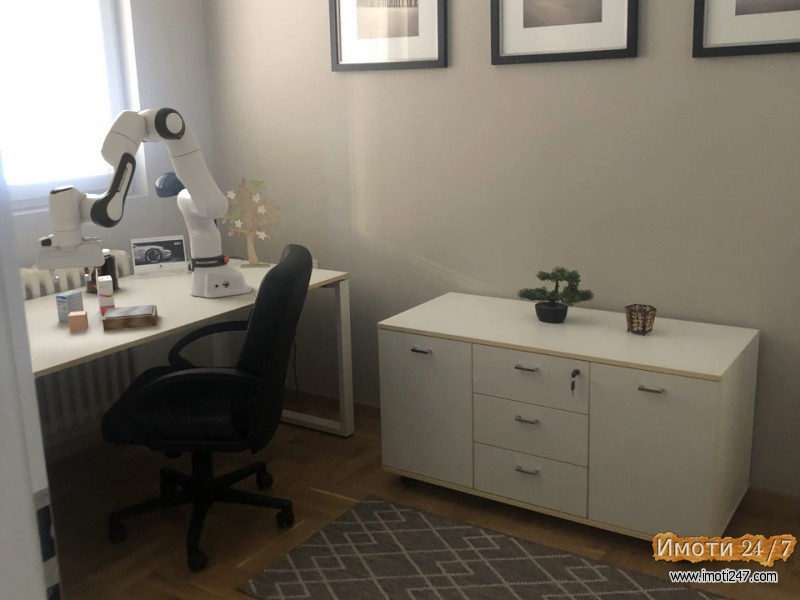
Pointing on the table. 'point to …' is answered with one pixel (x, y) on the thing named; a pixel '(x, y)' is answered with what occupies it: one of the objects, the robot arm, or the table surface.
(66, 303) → the medicine box
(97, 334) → the table surface
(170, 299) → the table surface
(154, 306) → the walnut riser
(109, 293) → the ink cartridge box
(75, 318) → the terracotta cube
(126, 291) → the table surface
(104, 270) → the jar
